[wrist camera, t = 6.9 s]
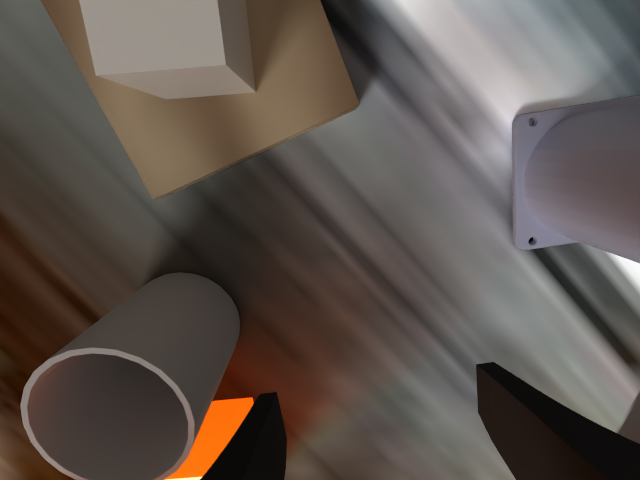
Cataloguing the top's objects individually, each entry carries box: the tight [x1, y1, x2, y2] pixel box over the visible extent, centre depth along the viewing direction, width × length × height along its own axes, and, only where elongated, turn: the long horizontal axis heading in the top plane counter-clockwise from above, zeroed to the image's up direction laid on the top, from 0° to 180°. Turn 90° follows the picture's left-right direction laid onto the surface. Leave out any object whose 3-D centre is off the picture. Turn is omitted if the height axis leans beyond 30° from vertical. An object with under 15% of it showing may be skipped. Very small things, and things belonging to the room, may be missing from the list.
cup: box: [21, 272, 240, 480], centre depth 19 cm, size 7×10×9 cm
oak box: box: [41, 0, 360, 199], centre depth 18 cm, size 12×12×3 cm
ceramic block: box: [79, 0, 256, 99], centre depth 14 cm, size 4×4×6 cm
